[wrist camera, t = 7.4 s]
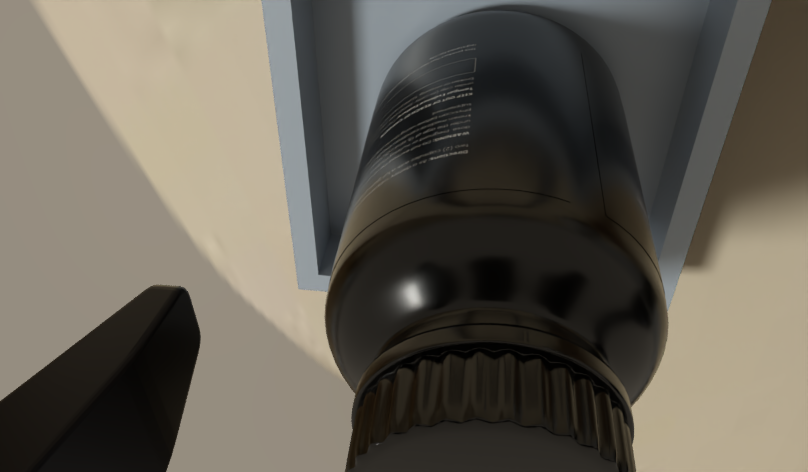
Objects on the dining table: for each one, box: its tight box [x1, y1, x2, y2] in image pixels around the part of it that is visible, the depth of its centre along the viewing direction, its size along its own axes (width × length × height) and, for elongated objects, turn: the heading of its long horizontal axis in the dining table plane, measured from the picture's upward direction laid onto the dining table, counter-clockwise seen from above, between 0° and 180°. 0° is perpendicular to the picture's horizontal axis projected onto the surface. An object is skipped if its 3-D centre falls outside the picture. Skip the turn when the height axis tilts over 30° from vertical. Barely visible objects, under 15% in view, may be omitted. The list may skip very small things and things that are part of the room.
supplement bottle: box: [325, 10, 668, 472], centre depth 16 cm, size 7×7×12 cm
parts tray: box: [261, 0, 772, 312], centre depth 20 cm, size 11×11×3 cm
